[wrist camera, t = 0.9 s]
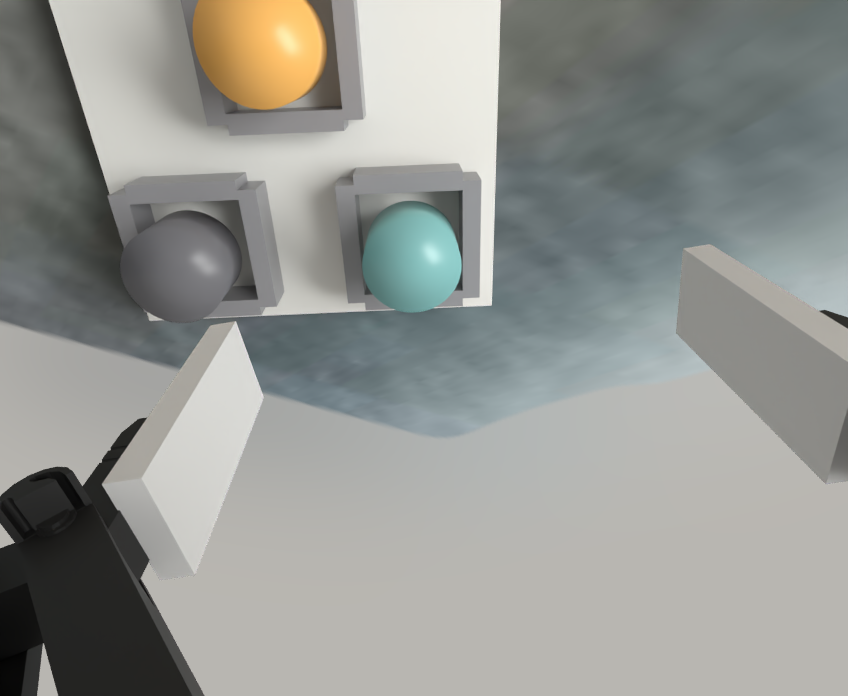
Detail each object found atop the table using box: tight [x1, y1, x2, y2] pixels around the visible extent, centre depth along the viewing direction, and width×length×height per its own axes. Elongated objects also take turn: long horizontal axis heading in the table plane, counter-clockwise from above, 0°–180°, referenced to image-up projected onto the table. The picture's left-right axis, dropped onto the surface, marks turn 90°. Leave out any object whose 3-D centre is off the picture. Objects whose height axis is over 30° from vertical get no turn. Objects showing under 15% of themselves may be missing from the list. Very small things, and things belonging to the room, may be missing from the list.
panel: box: [49, 0, 501, 321], centre depth 29 cm, size 22×20×4 cm
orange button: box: [193, 0, 327, 110], centre depth 24 cm, size 5×5×4 cm
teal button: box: [362, 201, 462, 312], centre depth 28 cm, size 5×5×4 cm
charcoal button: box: [120, 210, 242, 323], centre depth 28 cm, size 5×5×4 cm
